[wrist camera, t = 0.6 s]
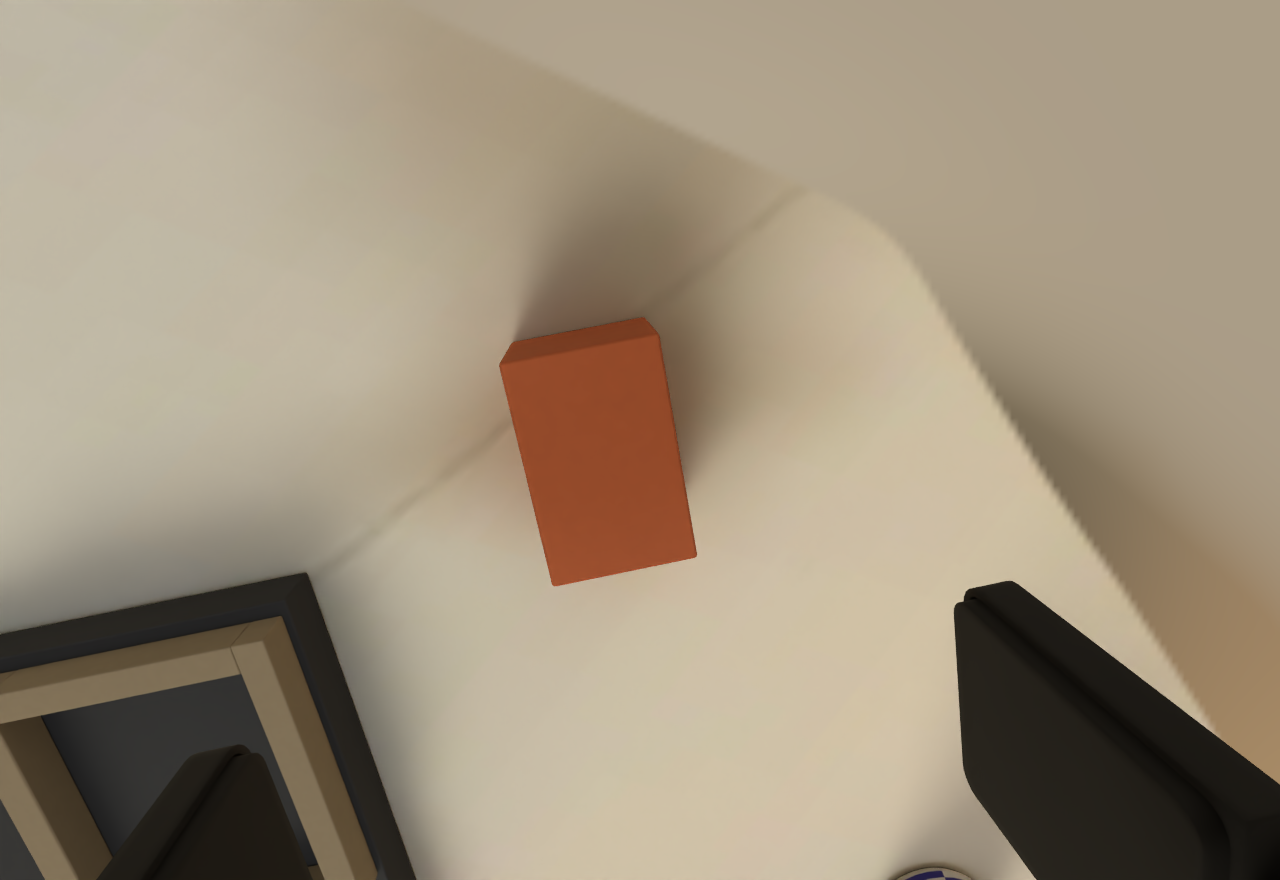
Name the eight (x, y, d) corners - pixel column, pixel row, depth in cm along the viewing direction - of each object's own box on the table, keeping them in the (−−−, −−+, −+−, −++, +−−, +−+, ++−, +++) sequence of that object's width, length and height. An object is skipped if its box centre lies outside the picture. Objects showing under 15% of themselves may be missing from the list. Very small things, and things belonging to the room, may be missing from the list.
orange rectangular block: (510, 342, 23) (497, 363, 19) (644, 316, 23) (659, 332, 19) (555, 534, 25) (552, 588, 21) (679, 509, 25) (697, 558, 21)
